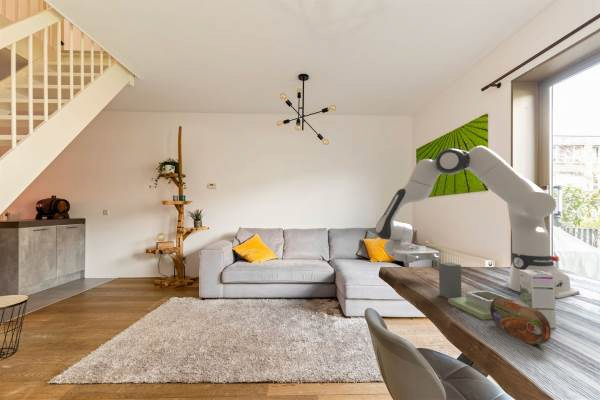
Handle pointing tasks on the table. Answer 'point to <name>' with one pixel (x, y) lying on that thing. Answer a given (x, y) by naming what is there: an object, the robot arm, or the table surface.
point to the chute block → (450, 280)
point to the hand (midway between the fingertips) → (427, 258)
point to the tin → (520, 321)
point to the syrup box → (538, 293)
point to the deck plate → (476, 303)
